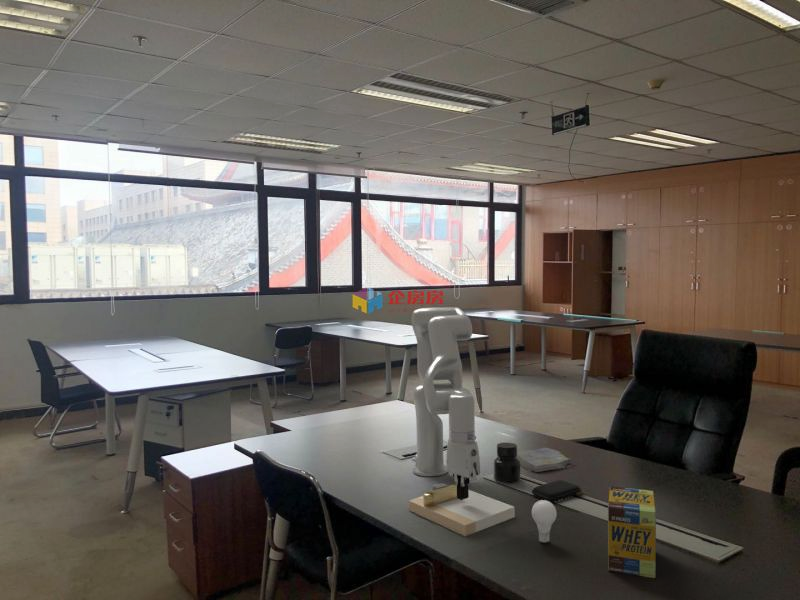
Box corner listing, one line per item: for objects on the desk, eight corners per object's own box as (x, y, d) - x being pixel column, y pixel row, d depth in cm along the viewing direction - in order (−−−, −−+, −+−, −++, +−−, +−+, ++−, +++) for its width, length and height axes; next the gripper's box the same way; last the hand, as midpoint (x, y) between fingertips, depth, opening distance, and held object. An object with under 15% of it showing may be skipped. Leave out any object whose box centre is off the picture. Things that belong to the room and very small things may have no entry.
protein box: (607, 571, 140) (607, 506, 140) (609, 544, 155) (609, 485, 154) (656, 579, 136) (656, 512, 136) (653, 550, 151) (653, 489, 150)
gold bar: (428, 506, 173) (428, 496, 173) (421, 503, 175) (421, 493, 175) (460, 496, 181) (459, 486, 180) (452, 493, 183) (452, 484, 183)
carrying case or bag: (554, 506, 182) (586, 496, 190) (554, 496, 182) (586, 486, 190) (528, 496, 190) (560, 486, 199) (528, 486, 190) (560, 477, 199)
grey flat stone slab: (579, 468, 220) (548, 453, 236) (579, 456, 220) (548, 442, 235) (535, 478, 212) (506, 462, 227) (535, 466, 211) (506, 450, 227)
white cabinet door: (408, 510, 179) (408, 488, 179) (456, 494, 192) (456, 474, 192) (465, 536, 161) (464, 512, 160) (514, 517, 173) (514, 494, 173)
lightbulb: (528, 537, 159) (528, 496, 159) (551, 536, 160) (551, 495, 159) (536, 548, 153) (535, 505, 152) (560, 547, 153) (560, 504, 153)
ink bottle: (524, 477, 207) (524, 443, 207) (518, 485, 199) (517, 450, 199) (496, 474, 211) (496, 440, 211) (489, 481, 203) (489, 447, 203)
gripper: (489, 438, 171) (490, 502, 172) (453, 429, 183) (454, 488, 183) (470, 443, 166) (471, 508, 167) (435, 433, 178) (436, 494, 179)
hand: (462, 498), depth 175 cm, fingers closed
